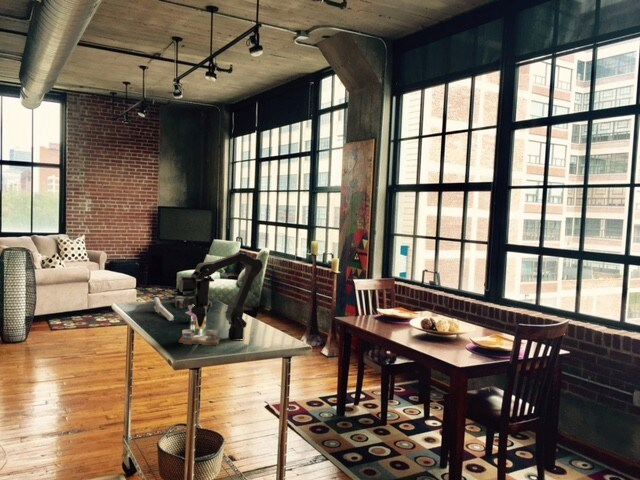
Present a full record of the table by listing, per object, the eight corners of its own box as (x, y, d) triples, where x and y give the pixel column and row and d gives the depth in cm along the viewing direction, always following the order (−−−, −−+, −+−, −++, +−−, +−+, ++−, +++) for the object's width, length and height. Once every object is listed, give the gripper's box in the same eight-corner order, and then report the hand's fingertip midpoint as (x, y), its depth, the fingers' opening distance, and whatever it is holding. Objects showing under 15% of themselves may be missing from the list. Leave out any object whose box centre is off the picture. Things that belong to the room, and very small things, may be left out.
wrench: (169, 326, 284) (152, 309, 309) (173, 326, 285) (155, 309, 310) (170, 311, 283) (153, 296, 307) (174, 311, 284) (156, 295, 308)
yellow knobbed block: (206, 326, 247) (206, 315, 247) (204, 329, 242) (204, 318, 241) (197, 326, 247) (197, 315, 246) (194, 328, 241) (195, 317, 241)
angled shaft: (192, 337, 246) (192, 328, 245) (194, 338, 243) (195, 330, 243) (181, 338, 243) (181, 329, 243) (183, 339, 240) (184, 330, 240)
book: (198, 303, 342) (198, 295, 342) (202, 311, 318) (202, 302, 318) (174, 303, 337) (174, 295, 337) (176, 310, 314) (177, 302, 313)
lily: (207, 327, 279) (211, 310, 283) (187, 320, 272) (192, 302, 277) (195, 330, 287) (200, 313, 292) (176, 323, 281) (181, 305, 285)
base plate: (220, 339, 250) (221, 327, 250) (216, 345, 239) (217, 333, 239) (183, 337, 250) (184, 326, 249) (178, 343, 239) (178, 331, 238)
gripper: (188, 287, 252) (187, 320, 253) (180, 293, 234) (178, 329, 234) (212, 288, 253) (211, 321, 254) (206, 294, 234) (204, 330, 235)
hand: (200, 325), depth 244 cm, fingers closed on yellow knobbed block, 5 cm apart
